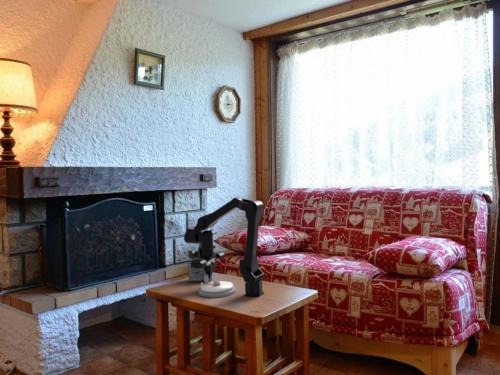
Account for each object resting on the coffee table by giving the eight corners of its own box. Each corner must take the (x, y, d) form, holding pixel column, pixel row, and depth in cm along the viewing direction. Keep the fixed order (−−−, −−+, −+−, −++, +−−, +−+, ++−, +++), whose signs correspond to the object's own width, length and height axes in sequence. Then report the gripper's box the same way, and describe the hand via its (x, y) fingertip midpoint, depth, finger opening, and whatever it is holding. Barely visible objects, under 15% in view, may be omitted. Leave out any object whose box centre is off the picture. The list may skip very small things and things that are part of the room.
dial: (239, 286, 186) (239, 274, 186) (219, 294, 174) (218, 281, 174) (215, 282, 194) (214, 271, 194) (194, 289, 183) (193, 277, 182)
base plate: (241, 288, 188) (241, 281, 188) (224, 299, 174) (223, 290, 173) (210, 285, 195) (210, 278, 195) (191, 295, 181) (191, 287, 180)
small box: (212, 278, 208) (211, 257, 208) (210, 282, 202) (209, 260, 201) (191, 278, 209) (190, 257, 209) (188, 282, 203) (187, 260, 203)
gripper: (204, 239, 200) (206, 271, 202) (179, 247, 184) (181, 282, 185) (224, 240, 195) (226, 273, 196) (200, 249, 179) (202, 285, 180)
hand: (209, 278), depth 189 cm, fingers closed
